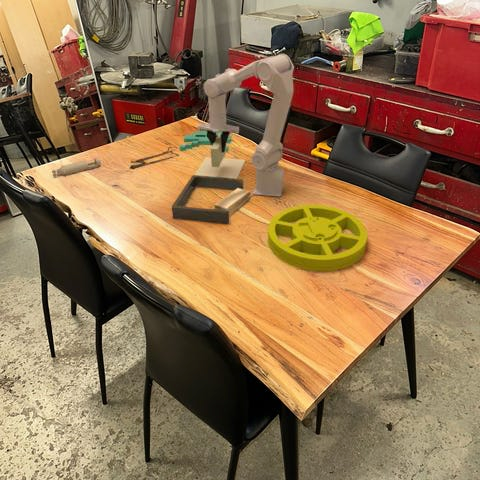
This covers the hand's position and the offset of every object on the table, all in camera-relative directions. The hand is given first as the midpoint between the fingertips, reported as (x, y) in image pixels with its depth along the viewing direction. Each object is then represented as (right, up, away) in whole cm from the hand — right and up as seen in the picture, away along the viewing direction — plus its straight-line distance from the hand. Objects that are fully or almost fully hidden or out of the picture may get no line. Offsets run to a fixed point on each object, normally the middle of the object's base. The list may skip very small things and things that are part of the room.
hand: (219, 151), depth 157 cm
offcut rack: (-3, -20, -13) cm, 24 cm away
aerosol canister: (-55, -6, +9) cm, 56 cm away
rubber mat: (0, -6, +7) cm, 9 cm away
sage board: (0, -3, +1) cm, 3 cm away
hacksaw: (-27, +1, +18) cm, 33 cm away
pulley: (+29, -33, -31) cm, 54 cm away
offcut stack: (+5, -21, -14) cm, 26 cm away
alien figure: (-6, +10, +30) cm, 33 cm away
